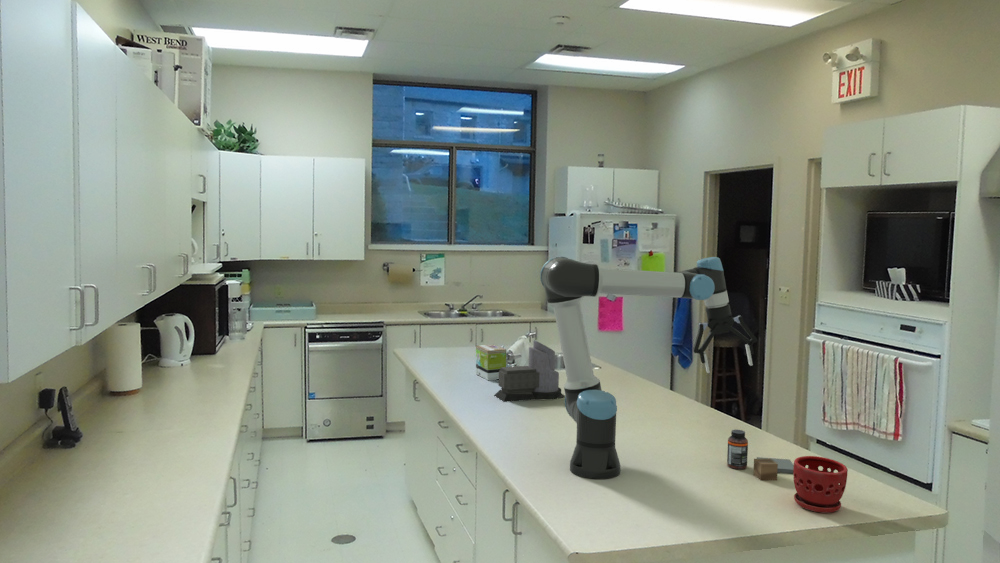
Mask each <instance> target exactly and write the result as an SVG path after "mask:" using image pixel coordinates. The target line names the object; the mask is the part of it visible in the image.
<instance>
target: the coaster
mask: <svg viewBox="0 0 1000 563" xmlns="http://www.w3.org/2000/svg"><path fill="white" fill-rule="evenodd" d="M756 459H772V460H773V461H774V462H776V463H777V464H778V470H777V473H779V474H782V473H783V474H793V475H794V473H793V469H794V463H793V461H791V459H788V458H787V459H786V458H774V457H763V456H761V457H759V456H756Z"/></svg>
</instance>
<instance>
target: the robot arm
mask: <svg viewBox="0 0 1000 563" xmlns="http://www.w3.org/2000/svg"><path fill="white" fill-rule="evenodd" d="M724 274H725V273H724V268H723V264H722V261H721V258H719V257H718V256H710V257H704V258H701V259H699V260H697V261H696V266H695V267H693V268H690V269H684V270H680V271H675V272H670V271H669V272H667V271H656V270H655V271H652V270H640V269H639V270H637V269H635V270H634V269H619V268H608V267H607V268H606V267H605V268H604V267H603V268H602V267H600V266H599V264H595V263H594V264H593V263H588V262H587V263H586V262H582V261H578V260H575V259H572V258H568V257H566V256H556V257H552V258H550V259H549V260H547V261H546V262H545V263H544V264H543V266H542V267H541V271H540V276H539V277H540V281H541V284H542V286H543V288H544V290H545V292H544V293H545V297H546V301H547V304H548V305H549V306H551V307H552V308H553V313H554V318H555V323H556V329H557V334H558V338H559V339H558V340H559V344H560V350H561V353H562V354H561V355H562V360H563V364H564V369H565V375H566V381H565V382H564V384H563V389H564V407H565V410H566V412H567V414H568V415H569V417H570V418H571V419H572V420H573V421H574V422H575V423H576V441H575V442H576V444H575V447H574V450H573V453H572V456H571V459H570V461H569V462H570V463H569V470H570V472H571V473H572V474H573V475H576V476H579V477H582V478H585V479H586V478H587V479H595V480H596V479H597V480H600V479H605V480H607V479H612V478H615V477H617V476H620V475H621V474H620V473H621V462H620V458H619V455H618V452H617V448H616V435H617V434H616V433H617V431H616V430H617V411H618V405H617V400H616V397H615V396H614V395H613V394H612V393H611V392H608V391H607V392H606V391H604V390H603V389H602V385H601V381H600V378H599V377H597V376H595V374H594V370H593V363H592V359H591V353H590V348H589V342H588V338H587V332H586V331H587V330H586V326H585V321H584V316H583V311H582V306H581V302H582V300H583V298H584V297H597V296H598V295H600V294H602V295H604V294H605V295H624V296H641V297H659V298H660V297H662V298H680V299H692V300H693V299H694V300H697V301H703V302H704V306H705V313H706V317H707V322H699V323H698V332H697V335H696V338H695V341H694V344H693V348H692V351H693V353H694V354H699V358H700V359H699V360H700V362H701V364H704V366H705V371H706V373H707V374H710V372H711V371H710V367H709V366H710V365H709V362H708V356H707V352H706V350H707V348H708V347H709V345H710V343H711V341H712V339H713V338H715V335H722V334H727V333H729V332H730V331H731V333H733V334H734V335H736V336H737V337H739V338H740V339H741V340H742V341H743V342H745V343H746V344H744V346H745V350H746V356H747V362H748V365H749V366H750V367H751V366H753V365H754V364H753V358H752V355H754V353H755V351H754V347H753V346H754V344H755V343H757V342H758V338H757V337H756V335H755V334H754V333H753V332H752V331H751V329H750V328H749V327H748V325H747V324H746V323H745V321H744V318H743V316H741V315H740V314H738V315H737V316H735V317H733V316H732V310H731V306H730V304H729V302H730V300H729V296H728V290H727V285H726V279H725V275H724ZM735 322H736V323H737V324H739V325H740V326H741V328H742V329H743V330H744V331H745V333H747V335H748V336H749V338H748V337H747V336H745V335H743V333H741V332H740V331H739V330H737V329H736V328H734V327H733V325H734V323H735ZM707 327H708V328H709V329H710V330H709V332H708V333H707V336H706V338H705V339H704V340H703V341H702V339H703V335H704V331H705V330H706V329H707ZM701 343H702V344H701Z"/></svg>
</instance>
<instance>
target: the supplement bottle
mask: <svg viewBox="0 0 1000 563" xmlns="http://www.w3.org/2000/svg"><path fill="white" fill-rule="evenodd" d="M730 432H731V435H730V436H729V437H728V438H727V454H726V455H727V456H726V457H727V459H726V461H727V462H726V465H727V467H729V468H730V469H733V470H745V469H746V468H747V467H748V452H749V450H748V449H749V440H748V439H747V438H746V431H745V430H742V429H732V430H731V431H730Z"/></svg>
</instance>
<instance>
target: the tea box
mask: <svg viewBox="0 0 1000 563" xmlns="http://www.w3.org/2000/svg"><path fill="white" fill-rule="evenodd" d="M501 367H507V348H503V347H502V346H499V345H497V344H494V343H493V344H483V345H482V344H480V345H476V346H475V375H476V376H477V375H478V376H479V377H481V378H482V379H483V380H486V381H488V380H489V381H497V380H496V379H499V371H500V370H501Z"/></svg>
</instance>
